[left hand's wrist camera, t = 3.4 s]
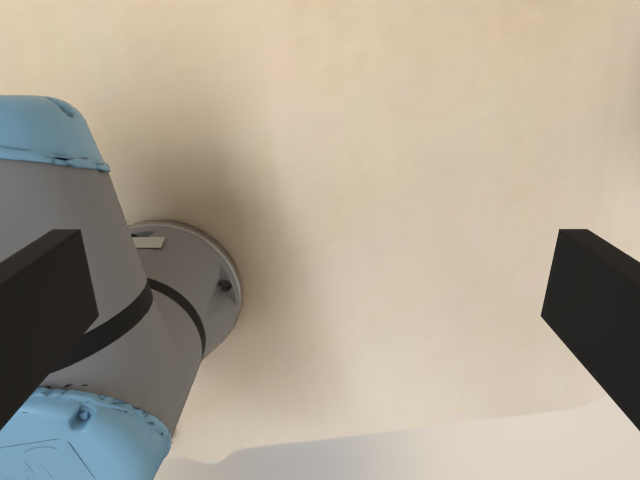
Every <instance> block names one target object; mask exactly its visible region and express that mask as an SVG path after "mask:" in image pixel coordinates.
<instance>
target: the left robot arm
mask: <svg viewBox="0 0 640 480" xmlns="http://www.w3.org/2000/svg"><path fill="white" fill-rule="evenodd" d="M108 172H110V168H109V166H108V164H107V163H105V162H104V161H103V159H102V157H101V154H100V152H99V150H98V148H97V146H96V143H95V141H94V139H93V137H92V134H91V132H90V129H89V127H88V125H87V122H86V120H85V119H84V117H83V116H82V114H81V113H80V112H79V111H78V110H77V109H76V108H74V107H73V106H72V105H70V104H69V103H67V102H65V101H62V100H59V99H56V98H52V97H46V96H27V95H0V480H153V479H154V477H155V474H156V472H157V471H158V469H159V467H160V465H161V463H162V461H163V459H164V458H165V457H166V456H167V454H168V453H169V450H170V448H171V443H172V441H171V439H172V436H173V433H174V431H175V428H176V425H177V423H178V420H179V418H180V415H181V413H182V410H183V407H184V405H185V402H186V400H187V397H188V395H189V392H190V389H191V387H192V384H193V382H194V379H195V376H196V374H197V371H198V369H199V366H200V363H201V361H202V360H203V359H204V358H205V357H206V356H207V355H208V354H209V353H211V352H212V351H213V350H214V349H215V348H216V347H217V346H218V345H220V344H221V343H222V342H223V341H224V340H225V338H226V337H227V336H228V334H229V333H230V332H231V330H232V329H233V327H234V325H235V323H236V320H237V318H238V315H239V312H240V308H241V304H242V295H243V290H242V283H241V278H240V275H239V272H238V269H237V267H236V265H235V263H234V261H233V260H232V258H231V257H230V255H229V254H228V253H227V251H226V250H225V249H224V248H223V247H222V246H221V245H220V244H219V243H218V242H217V241H216V240H214V239H213V238H212V237H210V236H209V235H207V234H206V233H204V232H202V231H201V230H199V229H196V228H194V227H192V226H189V225H186V224H183V223H179V222H174V221H167V220H152V221H145V222H140V223H137V224H134V225H131V226H129V227H128V226H127V223H126V220H125V218H124V215H123V212H122V209H121V206H120V204H119V201H118V198H117V195H116V192H115V190H114V187H113V184H112V181H111V178H110V175H109V173H108ZM541 317H542V318H543V319H544V320H545V322H546V323H547V324H548V325H549V326H550V327H551V329H552V330H553V331H554V332H555V333H556V334H557V335H558V337H559V338H560V339H561V340H562V341H563V342H564V344H565V345H566V346H567V347H568V348H569V349H570V351H571V352H572V353H573V354H574V355H575V356H576V358H577V359H578V360H579V361H580V362H581V363H582V364H583V366H584V367H585V368H586V369H587V370H588V371H589V373H590V374H591V375H592V376H593V377H594V378H595V380H596V381H597V382H598V383H599V384H600V385H601V387H602V388H603V389H604V390H605V391H606V392H607V394H608V395H609V396H610V397H611V398H612V399H613V400H614V402H615V403H616V404H617V405H618V406H619V407H620V409H621V410H622V411H623V412H624V413H625V414H626V416H627V417H628V418H629V419H630V420H631V421H632V423H633V424H634V425H635V426H636V427H637V428H638V430H639V431H640V262H638V261H637V260H635V259H633V258H632V257H630V256H629V255H627V254H626V253H624V252H622V251H621V250H619V249H618V248H616V247H615V246H613V245H611V244H610V243H608V242H607V241H605V240H604V239H602V238H600V237H599V236H597V235H596V234H594V233H592V232H591V231H589V230H588V229H559V233H558V238H557V243H556V247H555V252H554V257H553V261H552V266H551V271H550V275H549V280H548V285H547V289H546V294H545V299H544V303H543V308H542V313H541Z"/></svg>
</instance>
